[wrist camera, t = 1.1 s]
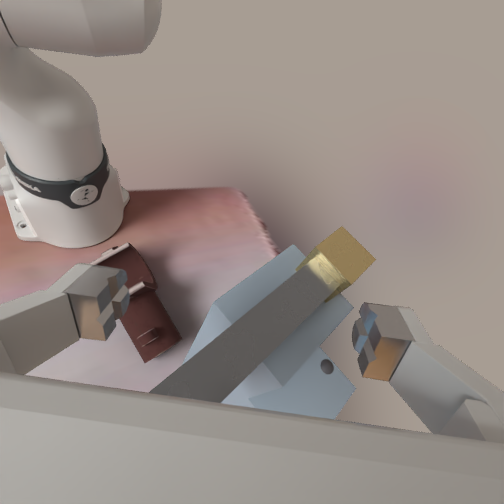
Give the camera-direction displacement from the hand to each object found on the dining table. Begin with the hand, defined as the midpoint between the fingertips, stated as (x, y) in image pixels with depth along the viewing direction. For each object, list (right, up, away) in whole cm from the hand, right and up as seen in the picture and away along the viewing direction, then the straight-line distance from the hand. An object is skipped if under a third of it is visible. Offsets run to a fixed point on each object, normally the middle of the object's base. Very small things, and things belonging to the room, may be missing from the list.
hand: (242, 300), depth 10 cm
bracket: (-19, -7, +36) cm, 41 cm away
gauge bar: (+1, -4, +13) cm, 13 cm away
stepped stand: (-1, -19, +34) cm, 39 cm away
